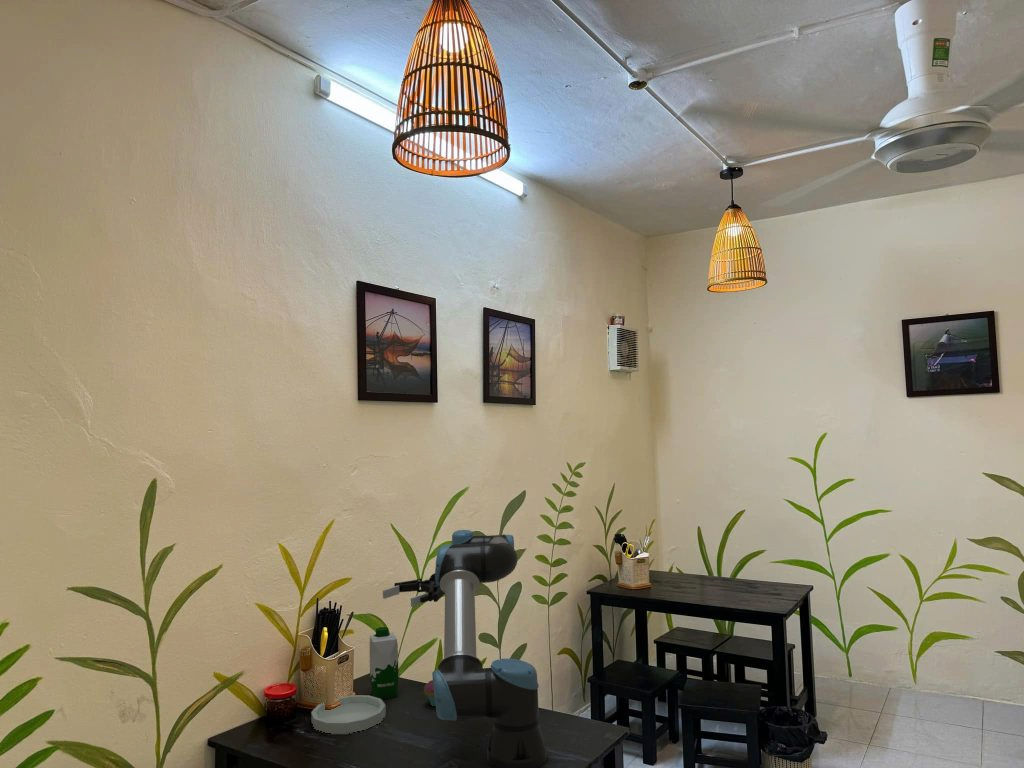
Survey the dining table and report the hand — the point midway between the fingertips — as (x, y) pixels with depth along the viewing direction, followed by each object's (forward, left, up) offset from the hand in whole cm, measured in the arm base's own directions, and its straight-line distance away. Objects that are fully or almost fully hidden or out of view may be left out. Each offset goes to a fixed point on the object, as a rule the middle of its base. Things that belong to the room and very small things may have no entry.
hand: (397, 598), depth 229 cm
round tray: (-3, +24, -29) cm, 38 cm away
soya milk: (+2, +5, -29) cm, 30 cm away
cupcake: (-18, +2, -29) cm, 35 cm away
